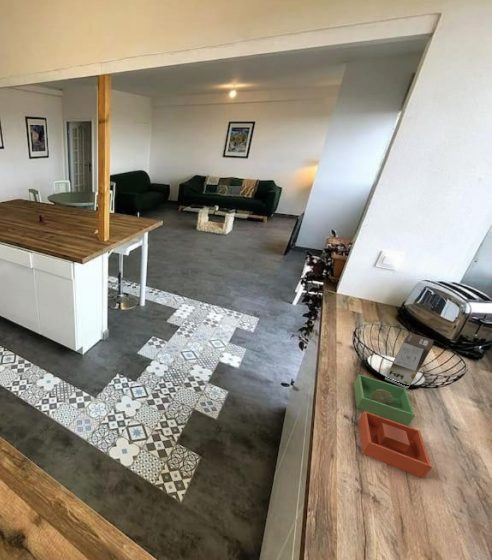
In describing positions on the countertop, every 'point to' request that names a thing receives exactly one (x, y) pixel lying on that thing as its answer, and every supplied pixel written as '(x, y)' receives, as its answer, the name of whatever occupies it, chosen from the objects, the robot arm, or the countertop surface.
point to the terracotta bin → (409, 462)
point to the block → (392, 438)
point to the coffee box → (409, 359)
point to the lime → (382, 397)
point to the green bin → (395, 412)
